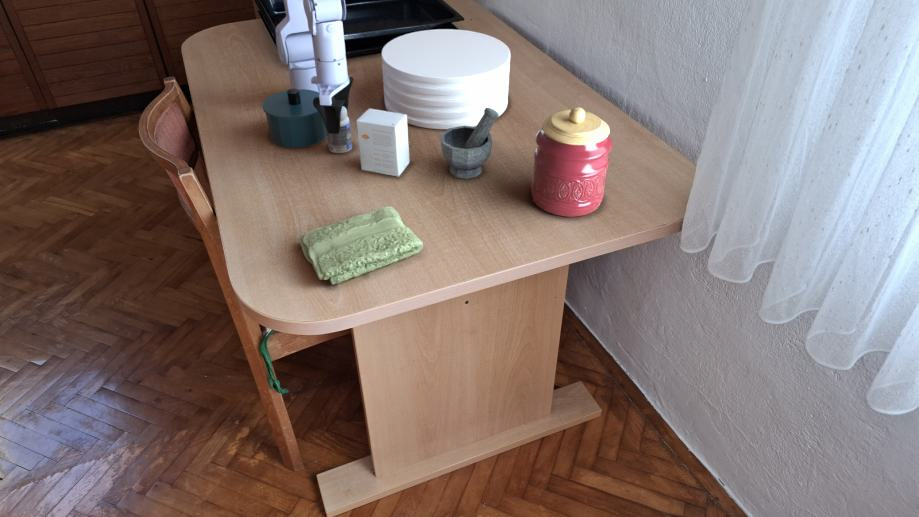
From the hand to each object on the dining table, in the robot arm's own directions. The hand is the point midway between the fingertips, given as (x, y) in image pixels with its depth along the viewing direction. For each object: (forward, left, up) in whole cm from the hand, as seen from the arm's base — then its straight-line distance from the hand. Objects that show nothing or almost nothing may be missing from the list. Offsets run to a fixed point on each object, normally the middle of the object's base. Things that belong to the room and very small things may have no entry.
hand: (337, 123), depth 129 cm
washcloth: (+24, +25, -6) cm, 35 cm away
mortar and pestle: (-7, +26, -6) cm, 28 cm away
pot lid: (0, -11, +1) cm, 11 cm away
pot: (0, -11, -5) cm, 12 cm away
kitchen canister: (-8, +46, -6) cm, 47 cm away
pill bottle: (0, 0, -6) cm, 6 cm away
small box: (+1, +12, -6) cm, 13 cm away
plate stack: (-30, +6, -6) cm, 31 cm away
